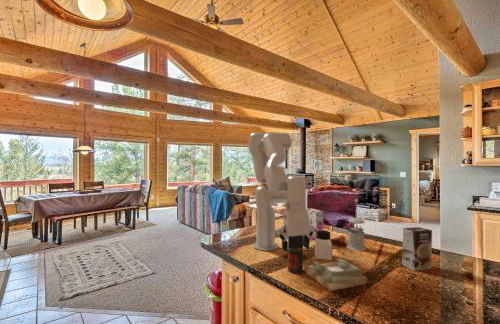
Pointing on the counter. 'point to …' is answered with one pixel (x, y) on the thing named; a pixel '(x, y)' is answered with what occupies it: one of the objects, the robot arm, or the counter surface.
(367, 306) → the counter surface
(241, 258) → the counter surface
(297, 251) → the deodorant
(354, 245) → the french press
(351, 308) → the counter surface
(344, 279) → the dock
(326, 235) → the medicine bottle
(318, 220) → the candy bar box
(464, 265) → the counter surface
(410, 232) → the coffee box
